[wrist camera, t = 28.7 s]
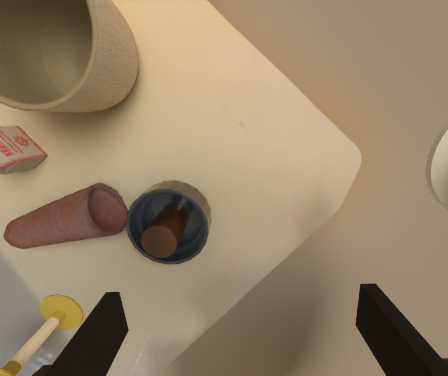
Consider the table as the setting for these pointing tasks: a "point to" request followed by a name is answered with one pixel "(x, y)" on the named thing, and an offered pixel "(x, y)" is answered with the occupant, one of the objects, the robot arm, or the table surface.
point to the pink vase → (70, 219)
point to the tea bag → (18, 150)
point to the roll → (165, 231)
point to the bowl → (152, 205)
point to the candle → (46, 329)
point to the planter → (65, 55)
